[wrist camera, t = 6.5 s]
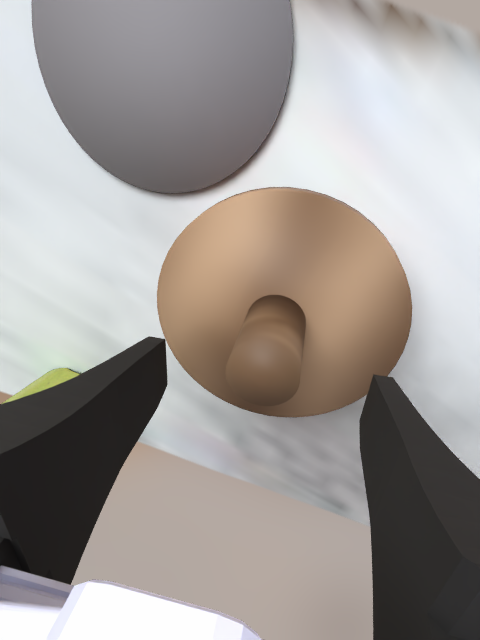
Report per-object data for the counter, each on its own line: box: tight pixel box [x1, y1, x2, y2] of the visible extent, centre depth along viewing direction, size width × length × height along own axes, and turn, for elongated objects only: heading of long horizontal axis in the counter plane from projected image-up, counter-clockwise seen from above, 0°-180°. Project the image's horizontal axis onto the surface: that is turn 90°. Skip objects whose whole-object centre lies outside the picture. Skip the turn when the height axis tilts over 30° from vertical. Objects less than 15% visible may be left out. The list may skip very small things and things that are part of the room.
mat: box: [32, 0, 293, 193], centre depth 17 cm, size 12×12×1 cm
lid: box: [157, 187, 412, 417], centre depth 15 cm, size 11×11×5 cm
